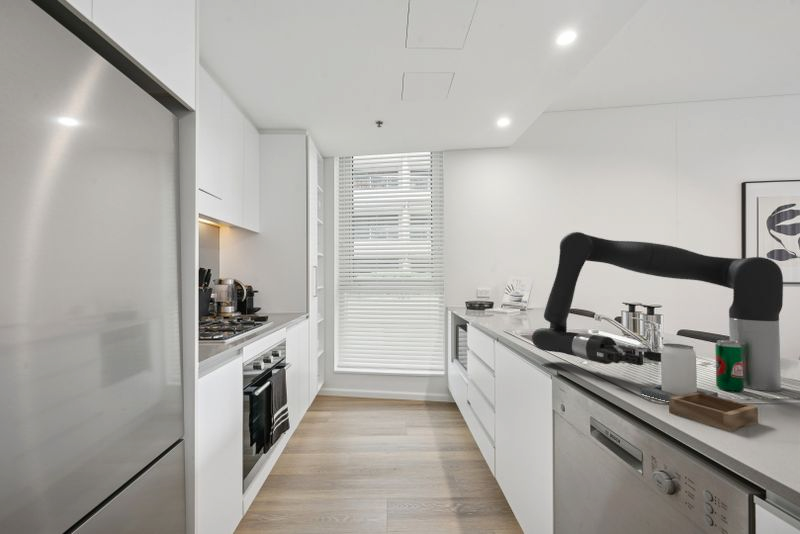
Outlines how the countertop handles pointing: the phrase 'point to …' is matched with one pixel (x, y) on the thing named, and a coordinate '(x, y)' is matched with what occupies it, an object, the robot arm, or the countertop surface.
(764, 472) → the countertop surface
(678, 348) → the can
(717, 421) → the open wooden box
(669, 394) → the gray rectangular tray
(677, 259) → the robot arm
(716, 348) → the soda can
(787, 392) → the countertop surface
